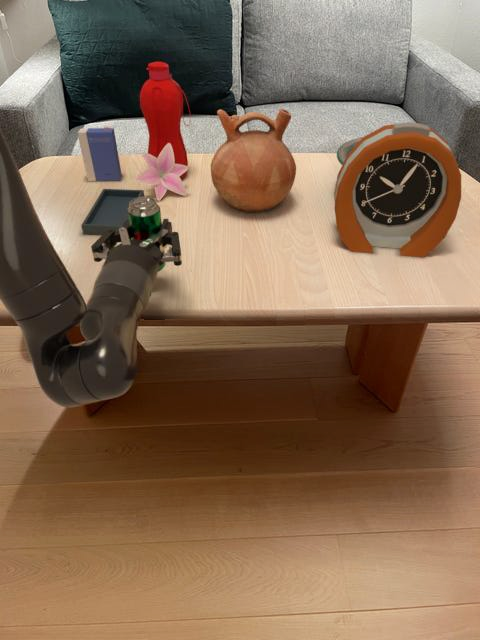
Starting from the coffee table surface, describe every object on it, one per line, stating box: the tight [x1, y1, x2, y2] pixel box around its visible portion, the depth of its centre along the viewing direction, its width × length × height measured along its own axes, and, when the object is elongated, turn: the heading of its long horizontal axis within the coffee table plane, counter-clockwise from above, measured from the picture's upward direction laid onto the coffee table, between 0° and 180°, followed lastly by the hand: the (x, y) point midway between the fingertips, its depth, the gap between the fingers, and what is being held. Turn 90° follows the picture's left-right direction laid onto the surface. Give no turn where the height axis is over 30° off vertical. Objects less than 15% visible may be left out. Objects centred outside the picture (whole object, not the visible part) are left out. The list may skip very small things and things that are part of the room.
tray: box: [80, 188, 145, 236], centre depth 100 cm, size 16×9×2 cm, turn 177°
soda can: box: [128, 196, 167, 273], centre depth 76 cm, size 5×5×12 cm
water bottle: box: [139, 61, 192, 180], centre depth 108 cm, size 9×11×25 cm
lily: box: [134, 143, 189, 202], centre depth 107 cm, size 12×12×10 cm
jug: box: [210, 108, 297, 214], centre depth 100 cm, size 18×18×20 cm
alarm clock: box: [333, 121, 462, 258], centre depth 87 cm, size 22×10×23 cm, turn 82°
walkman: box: [76, 126, 122, 182], centre depth 111 cm, size 8×3×12 cm, turn 92°
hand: (149, 223), depth 78 cm, fingers closed on soda can, 5 cm apart
